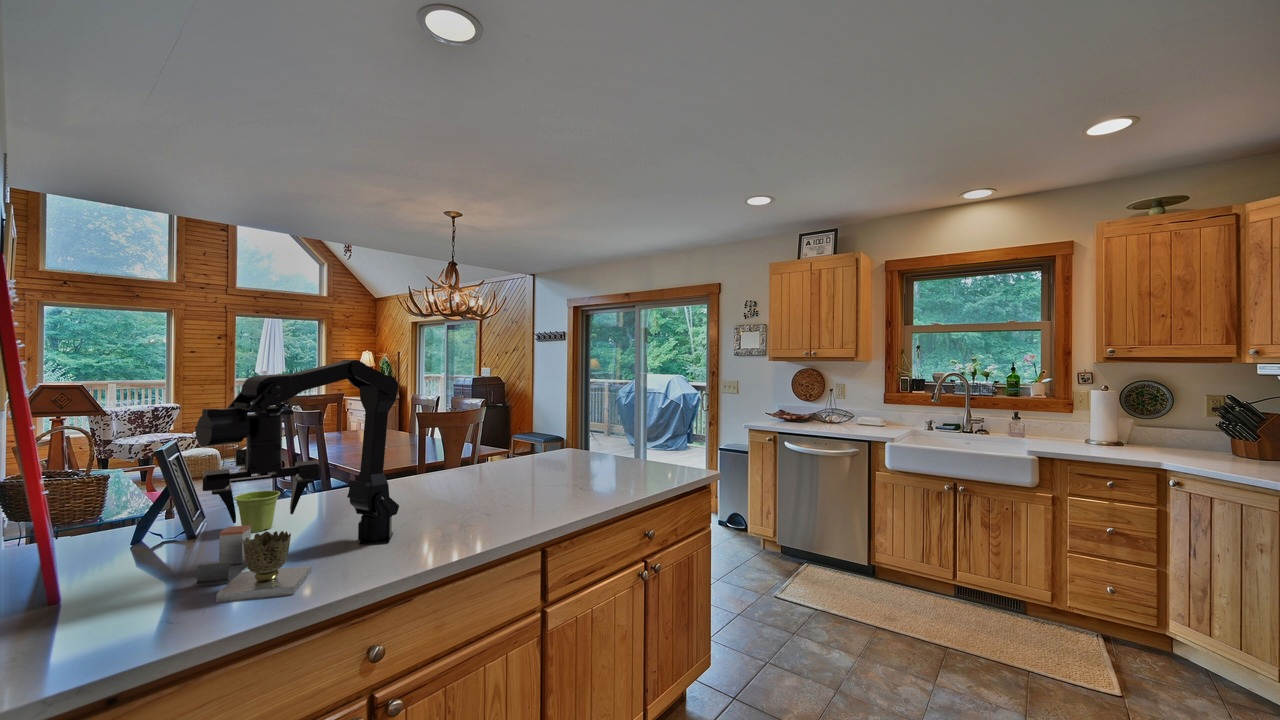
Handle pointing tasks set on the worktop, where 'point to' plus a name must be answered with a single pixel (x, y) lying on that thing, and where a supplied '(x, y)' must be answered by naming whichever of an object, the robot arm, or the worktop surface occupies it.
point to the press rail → (218, 572)
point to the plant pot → (257, 509)
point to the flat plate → (264, 585)
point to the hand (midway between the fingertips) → (263, 518)
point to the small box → (233, 543)
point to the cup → (266, 554)
